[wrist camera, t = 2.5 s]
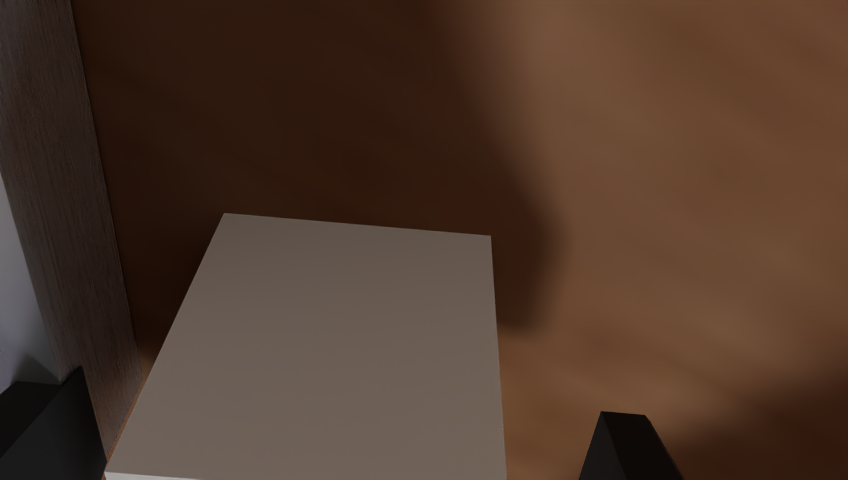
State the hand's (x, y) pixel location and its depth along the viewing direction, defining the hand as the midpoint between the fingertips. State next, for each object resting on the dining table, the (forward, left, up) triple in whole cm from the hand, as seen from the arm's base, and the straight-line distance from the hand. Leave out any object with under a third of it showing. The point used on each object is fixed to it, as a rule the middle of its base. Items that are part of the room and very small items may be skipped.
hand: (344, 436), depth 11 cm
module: (0, 0, -2) cm, 2 cm away
